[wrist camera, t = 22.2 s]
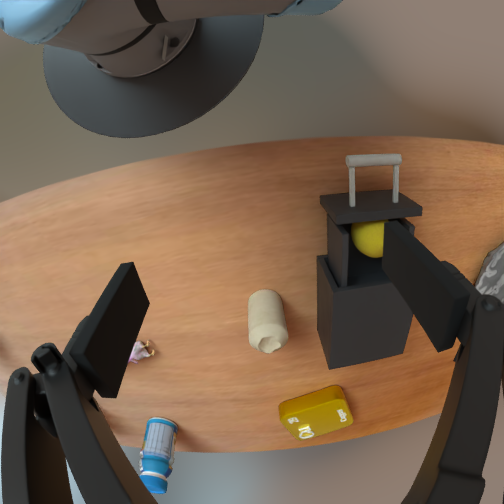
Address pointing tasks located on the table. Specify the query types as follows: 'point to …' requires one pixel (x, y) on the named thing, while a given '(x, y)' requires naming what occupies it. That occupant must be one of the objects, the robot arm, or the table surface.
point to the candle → (266, 321)
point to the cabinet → (359, 319)
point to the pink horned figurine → (139, 352)
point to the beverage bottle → (157, 454)
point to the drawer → (362, 210)
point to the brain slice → (492, 274)
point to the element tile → (316, 413)
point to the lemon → (369, 237)
